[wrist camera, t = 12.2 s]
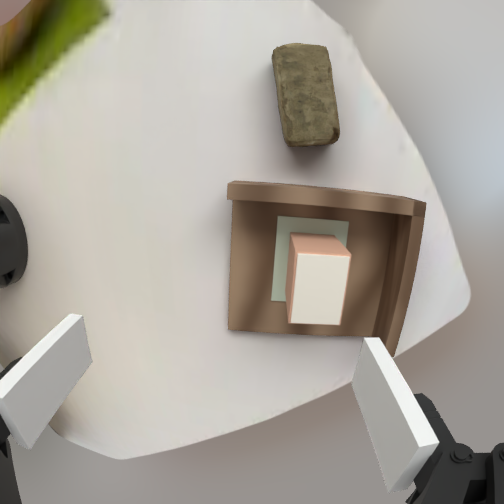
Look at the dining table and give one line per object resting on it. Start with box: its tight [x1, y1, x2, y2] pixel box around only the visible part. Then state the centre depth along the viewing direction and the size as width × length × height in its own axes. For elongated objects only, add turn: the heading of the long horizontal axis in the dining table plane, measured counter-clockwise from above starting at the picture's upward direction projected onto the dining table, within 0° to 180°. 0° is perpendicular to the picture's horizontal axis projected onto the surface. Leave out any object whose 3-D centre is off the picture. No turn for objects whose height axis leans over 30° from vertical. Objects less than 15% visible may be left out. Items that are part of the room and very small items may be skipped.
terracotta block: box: [285, 232, 352, 325], centre depth 32 cm, size 7×5×8 cm
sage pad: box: [271, 216, 349, 301], centre depth 36 cm, size 8×10×1 cm
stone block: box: [272, 43, 340, 147], centre depth 30 cm, size 6×12×5 cm, turn 8°
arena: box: [227, 181, 426, 357], centre depth 34 cm, size 20×18×6 cm
